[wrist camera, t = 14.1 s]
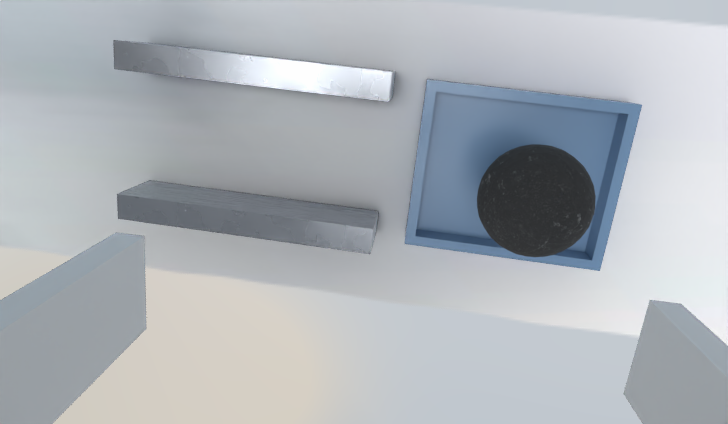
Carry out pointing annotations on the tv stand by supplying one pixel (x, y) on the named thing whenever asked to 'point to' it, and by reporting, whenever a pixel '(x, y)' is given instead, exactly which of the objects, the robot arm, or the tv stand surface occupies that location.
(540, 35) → the tv stand surface
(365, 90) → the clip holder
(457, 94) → the parts tray
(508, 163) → the black round speckled part
